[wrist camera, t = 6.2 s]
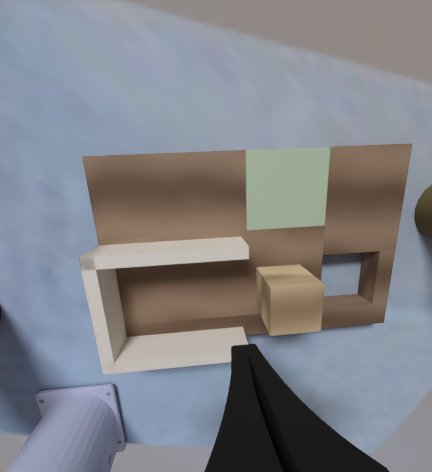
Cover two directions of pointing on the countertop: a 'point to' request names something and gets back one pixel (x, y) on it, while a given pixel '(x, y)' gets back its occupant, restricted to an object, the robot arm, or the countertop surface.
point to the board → (243, 234)
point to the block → (289, 299)
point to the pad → (286, 187)
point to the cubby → (159, 345)
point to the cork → (424, 213)
